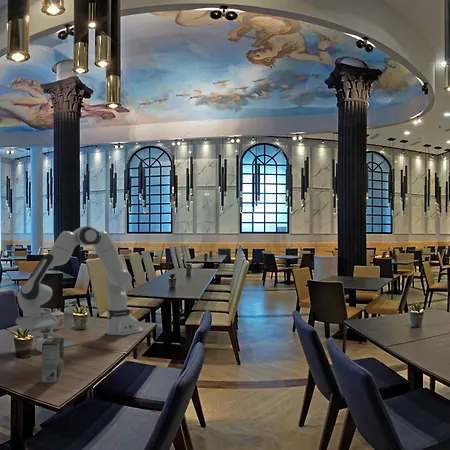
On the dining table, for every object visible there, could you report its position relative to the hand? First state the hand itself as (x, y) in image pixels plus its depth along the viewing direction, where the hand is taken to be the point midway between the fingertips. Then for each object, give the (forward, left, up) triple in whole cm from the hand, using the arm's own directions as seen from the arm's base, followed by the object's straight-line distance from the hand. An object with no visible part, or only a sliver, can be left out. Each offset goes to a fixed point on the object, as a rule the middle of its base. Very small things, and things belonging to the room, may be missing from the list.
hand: (43, 336), depth 215 cm
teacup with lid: (-17, -45, -7) cm, 48 cm away
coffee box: (+5, +47, -7) cm, 48 cm away
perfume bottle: (-1, +2, -7) cm, 7 cm away
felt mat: (-11, -2, -7) cm, 13 cm away
